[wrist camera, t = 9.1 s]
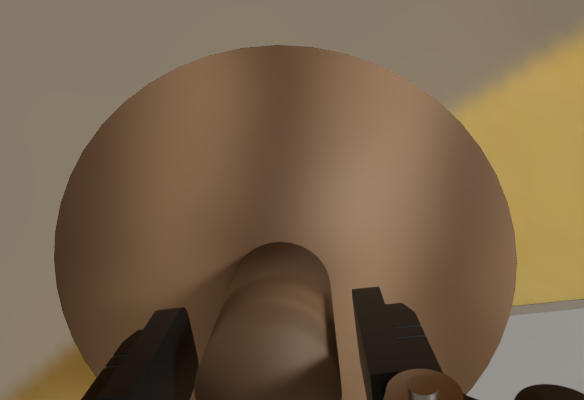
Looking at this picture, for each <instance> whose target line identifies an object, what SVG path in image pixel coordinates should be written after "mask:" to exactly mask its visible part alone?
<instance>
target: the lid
mask: <svg viewBox="0 0 584 400" xmlns="http://www.w3.org/2000/svg"><path fill="white" fill-rule="evenodd" d="M54 262H55V272H56V283H57V289H58V293H59V297H60V302H61V306H62V310H63V314H64V317H65V319H66V322H67V324H68V327H69V330H70V332H71V335H72V337H73V339H74V341H75V343H76V345H77V347H78V349H79V351H80V352H81V354H82V356H83V358H84V360H85V362H86V363H87V365H88V366H89V367H90V369H91V370H92V372H93V373H94V374H95V376H96V377H98V376H99V374H100V373H101V371H102V370H103V369H104V368H106V364H107V363H108V362H109V360H110V359H111V357H113V354H114V353H115V352H116V350H117V349H118V347H119V346H120V345H121V343H122V342H123V341H124V340H126V339H127V338H128V337H129V336H131V335H132V334H133V333H135V332H136V331H137V330H143V329H144V327H145V326H146V324H147V323H148V321H149V320H150V318H151V317H152V315H153V314H154V312H155V311H156V310H161V309H170V308H179V307H184V308H186V310H187V312H188V315H189V319H190V324H191V328H192V333H193V337H194V342H195V346H196V351H197V355H198V363H199V367H198V370H197V373H196V377H195V384H194V390H193V393H192V396H191V398H190V400H367V397H366V392H365V386H364V381H363V375H362V370H361V364H360V358H359V351H358V344H357V335H356V326H355V317H354V308H353V299H352V289H358V288H367V287H376V286H379V288H380V290H381V293H382V296H383V299H384V302H385V304H394V303H403V304H405V305H406V306H407V307H409V308H410V309H411V310H413V311H414V312H415V313H416V315H417V318H418V320H419V322H420V324H421V327H422V328H423V331H424V333H425V336H426V337H427V339H428V341H429V344H430V346H431V348H432V350H433V352H434V354H435V357H436V359H437V361H438V363H439V365H440V367H441V370H442V372H443V374H445V375H447V376H449V377H451V378H452V379H453V380H454V381H455V382H456V383H457V384H458V385H459V386H460V388H461V390H462V392H463V394H465V395H466V394H467V393H468V392H469V391H470V390H471V389H472V388H473V386H474V385H475V384H476V382H477V381H478V379H479V378H480V376H481V375H482V374H483V372H484V371H485V369H486V368H487V367H488V365H489V363H490V361H491V359H492V357H493V355H494V353H495V351H496V349H497V347H498V346H499V344H500V341H501V339H502V336H503V333H504V330H505V328H506V325H507V322H508V319H509V316H510V311H511V307H512V302H513V297H514V292H515V283H516V267H517V257H516V245H515V233H514V228H513V224H512V220H511V215H510V211H509V207H508V203H507V200H506V198H505V195H504V193H503V190H502V188H501V185H500V183H499V180H498V178H497V175H496V173H495V172H494V170H493V168H492V166H491V165H490V163H489V161H488V160H487V158H486V156H485V154H484V153H483V151H482V149H481V148H480V146H479V145H478V144H477V143H476V141H475V140H474V139H473V138H472V136H471V135H470V134H469V133H468V131H467V130H466V129H465V127H464V126H463V125H462V124H461V122H460V121H458V120H457V119H456V118H455V117H454V116H453V115H452V114H451V113H450V112H449V111H448V110H447V109H446V108H445V107H444V106H442V105H441V104H440V103H439V102H438V101H437V100H436V99H435V98H433V97H432V96H430V95H429V94H427V93H426V92H425V91H423V90H422V89H420V88H419V87H417V86H416V85H414V84H413V83H412V82H410V81H409V80H407V79H405V78H403V77H401V76H399V75H397V74H395V73H393V72H391V71H389V70H387V69H385V68H383V67H381V66H379V65H377V64H374V63H371V62H368V61H365V60H362V59H360V58H357V57H354V56H351V55H348V54H344V53H339V52H334V51H329V50H324V49H319V48H314V47H301V46H300V47H299V46H282V45H273V46H262V47H250V48H240V49H236V50H232V51H227V52H223V53H219V54H214V55H210V56H207V57H204V58H202V59H199V60H196V61H194V62H191V63H188V64H186V65H183V66H181V67H178V68H176V69H174V70H173V71H171V72H169V73H167V74H165V75H164V76H162V77H160V78H158V79H156V80H155V81H153V82H151V83H149V84H148V85H146V86H145V87H144V88H142V89H141V90H140V91H139V92H137V93H136V94H135V95H133V96H132V97H131V98H129V99H128V100H127V101H125V102H124V103H123V104H122V105H121V106H120V107H119V108H118V109H117V110H116V111H115V112H114V113H113V114H112V115H111V116H110V117H109V118H108V119H107V120H106V121H105V123H103V124H102V126H101V127H100V128H99V130H98V131H97V132H96V134H95V135H94V137H93V138H92V140H91V141H90V142H89V144H88V145H87V146H86V148H85V149H84V151H83V152H82V154H81V156H80V158H79V160H78V162H77V164H76V166H75V168H74V170H73V172H72V174H71V176H70V178H69V181H68V184H67V187H66V190H65V193H64V196H63V199H62V201H61V205H60V210H59V216H58V220H57V226H56V231H55V253H54Z"/></svg>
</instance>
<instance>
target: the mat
mask: <svg viewBox="0 0 584 400" xmlns="http://www.w3.org/2000/svg"><path fill="white" fill-rule="evenodd" d="M538 384H552V385H559V386H564V387H567V388H571V389H574V390H576V391H579V392H581V393H583V394H584V299H581V300H571V301H562V302H552V303H542V304H533V305H523V306H513V307H511V311H510V316H509V319H508V322H507V325H506V328H505V330H504V333H503V336H502V339H501V341H500V344H499V346H498V347H497V349H496V351H495V353H494V355H493V357H492V359H491V361H490V363H489V365H488V367H487V368H486V369H485V371H484V372H483V374H482V375H481V376H480V378H479V379H478V381H477V382H476V384H475V385H474V386H473V388H472V389H471V390H470V391H469V392H468V393H467V394H466V395H467V396H470V397H472V398H475V399H478V400H514V399H515V397H516V395H517V394H518V393H519V392H520V391H521V390H522V389H524V388H526V387H529V386H532V385H538Z"/></svg>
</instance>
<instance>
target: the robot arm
mask: <svg viewBox="0 0 584 400" xmlns="http://www.w3.org/2000/svg"><path fill="white" fill-rule="evenodd" d="M352 299H353V308H354V317H355V326H356V335H357V344H358V351H359V358H360V364H361V370H362V375H363V381H364V386H365V392H366V397H367V400H478V399H475V398H472V397H470V396H467V395H465V394H463V392H462V390H461V388H460V386H459V385H458V384H457V383H456V382H455V381H454V380H453V379H452V378H451V377H449V376H447V375H445V374H443V372H442V370H441V367H440V365H439V363H438V361H437V359H436V357H435V354H434V352H433V350H432V348H431V346H430V344H429V341H428V339H427V337H426V336H425V333H424V331H423V328H422V327H421V324H420V322H419V320H418V318H417V315H416V313H415V312H414V311H413V310H411V309H410V308H409V307H407V306H406V305H405V304H403V303H394V304H385V302H384V299H383V296H382V293H381V290H380V288H379V286H376V287H367V288H358V289H352ZM198 367H199V363H198V355H197V351H196V346H195V342H194V337H193V333H192V328H191V324H190V319H189V315H188V312H187V310H186V308H184V307H179V308H170V309H161V310H156V311H155V312H154V314H153V315H152V317H151V318H150V320H149V321H148V323H147V324H146V326H145V327H144V329H143V330H137V331H136V332H135V333H133V334H132V335H131V336H129V337H128V338H127V339H126V340H124V341H123V342H122V343H121V345H120V346H119V347H118V349H117V350H116V352H115V353H114V354H113V357H111V359H110V360H109V362H108V363H107V364H106V368H104V369H103V370H102V371H101V373H100V374H99V376H98V377H97V378H96V380H95V381H94V383H93V384H92V385H91V387H90V388H89V390H88V391H87V392H86V394H85V395H84V397H83V398H82V399H81V400H190V398H191V396H192V393H193V390H194V384H195V377H196V373H197V370H198ZM514 400H584V394H583V393H581V392H579V391H576V390H574V389H571V388H567V387H564V386H559V385H552V384H538V385H532V386H529V387H526V388H524V389H522V390H521V391H520V392H519V393H518V394H517V395H516V397H515V399H514Z"/></svg>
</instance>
